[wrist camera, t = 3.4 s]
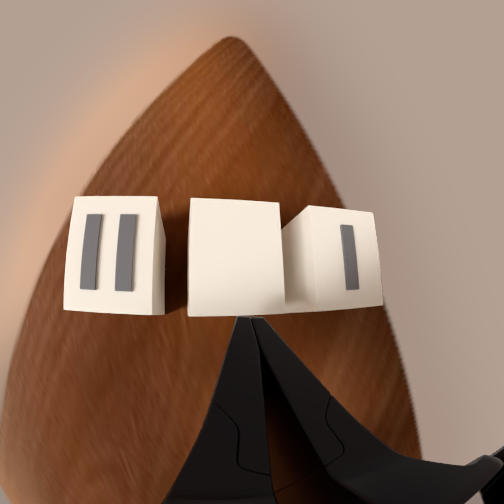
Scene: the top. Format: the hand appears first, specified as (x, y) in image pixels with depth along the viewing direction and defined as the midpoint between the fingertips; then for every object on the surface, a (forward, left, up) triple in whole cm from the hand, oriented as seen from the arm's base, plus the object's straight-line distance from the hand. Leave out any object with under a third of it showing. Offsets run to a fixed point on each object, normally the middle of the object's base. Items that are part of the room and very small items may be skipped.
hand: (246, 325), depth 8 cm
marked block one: (+3, -6, -10) cm, 12 cm away
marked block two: (+3, +5, -10) cm, 11 cm away
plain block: (+3, 0, -10) cm, 10 cm away
